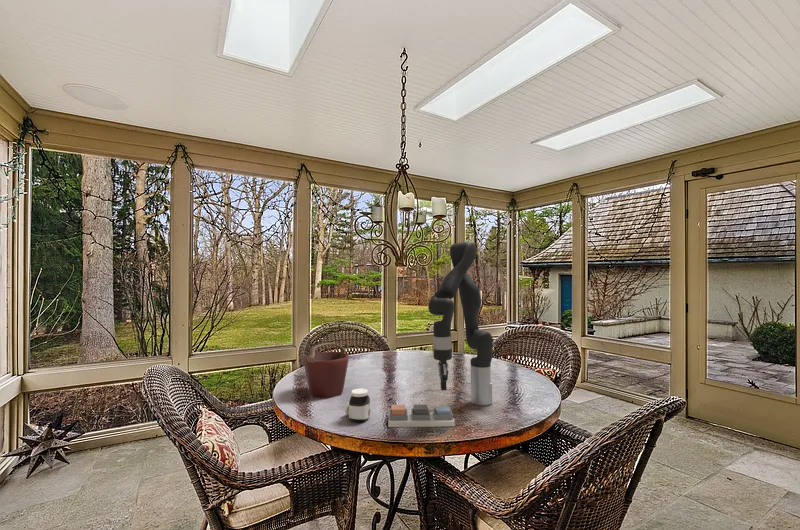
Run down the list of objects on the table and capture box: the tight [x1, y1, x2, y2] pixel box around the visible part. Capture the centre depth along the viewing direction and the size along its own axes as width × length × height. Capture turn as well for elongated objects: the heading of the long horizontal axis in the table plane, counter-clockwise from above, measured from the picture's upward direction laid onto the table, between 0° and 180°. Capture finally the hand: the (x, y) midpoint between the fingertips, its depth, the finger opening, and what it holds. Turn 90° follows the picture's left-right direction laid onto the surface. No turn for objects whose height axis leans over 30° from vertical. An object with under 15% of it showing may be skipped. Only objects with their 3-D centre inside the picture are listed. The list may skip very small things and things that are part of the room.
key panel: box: [387, 408, 456, 428], centre depth 156 cm, size 26×10×4 cm, turn 91°
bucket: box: [303, 342, 350, 399], centre depth 194 cm, size 24×22×25 cm
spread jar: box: [343, 388, 371, 423], centre depth 161 cm, size 12×11×12 cm
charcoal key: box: [412, 404, 429, 415], centre depth 156 cm, size 6×6×2 cm
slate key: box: [434, 405, 452, 415], centre depth 156 cm, size 6×6×2 cm
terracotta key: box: [391, 404, 407, 415], centre depth 156 cm, size 6×6×2 cm
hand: (443, 389), depth 156 cm, fingers closed
